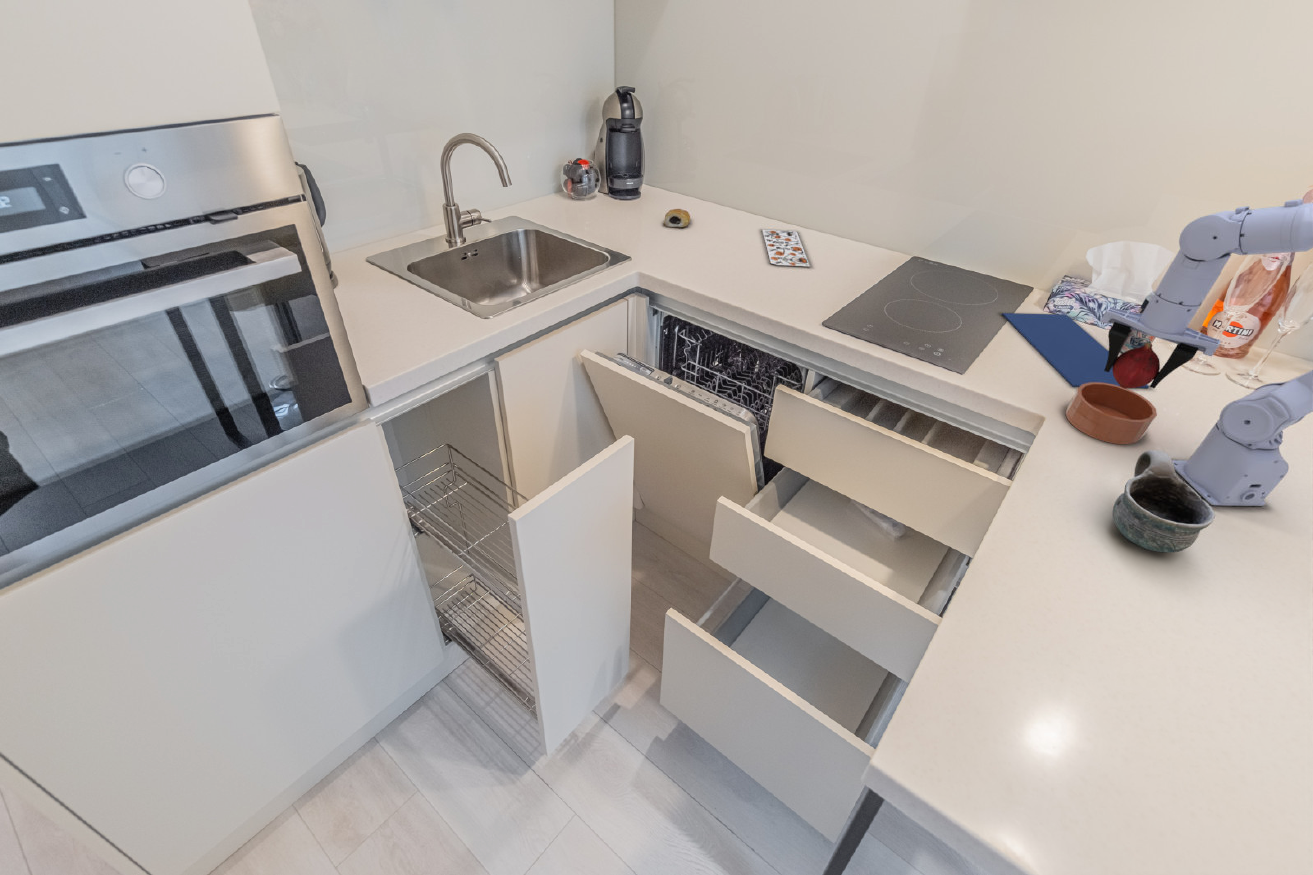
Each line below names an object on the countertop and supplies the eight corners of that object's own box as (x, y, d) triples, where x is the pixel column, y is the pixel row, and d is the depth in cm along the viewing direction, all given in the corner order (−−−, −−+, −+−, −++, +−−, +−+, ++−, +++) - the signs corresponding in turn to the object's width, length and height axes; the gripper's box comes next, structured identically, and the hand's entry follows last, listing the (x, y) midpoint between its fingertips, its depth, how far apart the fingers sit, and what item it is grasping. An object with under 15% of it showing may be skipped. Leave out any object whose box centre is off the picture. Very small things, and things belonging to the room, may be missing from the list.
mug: (1125, 563, 79) (1168, 506, 73) (1075, 495, 89) (1109, 440, 83) (1200, 566, 79) (1250, 510, 73) (1142, 498, 89) (1181, 443, 83)
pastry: (670, 215, 176) (671, 201, 174) (693, 218, 175) (695, 204, 173) (662, 226, 169) (663, 212, 167) (686, 229, 168) (687, 215, 165)
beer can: (1117, 354, 122) (1149, 297, 115) (1116, 343, 125) (1147, 288, 118) (1145, 360, 120) (1180, 303, 113) (1143, 350, 124) (1177, 294, 116)
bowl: (1158, 445, 99) (1173, 422, 96) (1088, 443, 99) (1102, 421, 96) (1116, 404, 108) (1129, 382, 105) (1052, 403, 107) (1063, 381, 105)
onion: (1151, 400, 96) (1179, 355, 92) (1111, 395, 97) (1137, 350, 92) (1136, 380, 101) (1162, 337, 96) (1098, 376, 102) (1122, 332, 97)
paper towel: (810, 266, 150) (771, 264, 150) (809, 266, 150) (771, 264, 150) (796, 230, 169) (762, 229, 169) (796, 231, 169) (762, 229, 169)
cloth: (1148, 388, 112) (1149, 386, 112) (1072, 386, 112) (1073, 384, 112) (1065, 316, 134) (1066, 314, 134) (1002, 314, 134) (1002, 313, 134)
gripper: (1243, 305, 88) (1189, 386, 96) (1128, 274, 96) (1087, 351, 104) (1236, 321, 84) (1180, 404, 92) (1116, 287, 92) (1075, 366, 100)
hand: (1130, 377), depth 98 cm, fingers closed on onion, 6 cm apart
